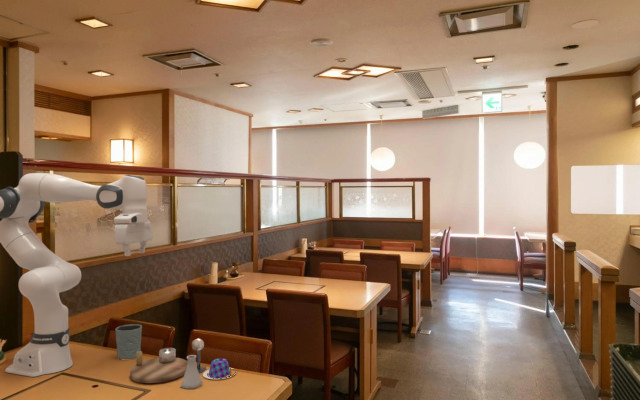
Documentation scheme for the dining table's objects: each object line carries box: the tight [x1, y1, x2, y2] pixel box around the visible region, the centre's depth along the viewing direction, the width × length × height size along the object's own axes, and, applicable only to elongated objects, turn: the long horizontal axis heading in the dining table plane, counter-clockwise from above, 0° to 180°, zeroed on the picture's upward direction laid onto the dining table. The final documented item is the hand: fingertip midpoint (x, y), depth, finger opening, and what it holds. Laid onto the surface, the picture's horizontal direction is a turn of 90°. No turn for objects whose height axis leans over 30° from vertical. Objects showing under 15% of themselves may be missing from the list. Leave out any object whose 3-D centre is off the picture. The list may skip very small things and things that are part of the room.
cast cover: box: [158, 347, 177, 364], centre depth 170 cm, size 6×6×4 cm
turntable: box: [129, 350, 188, 384], centre depth 164 cm, size 20×20×7 cm
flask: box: [180, 354, 203, 390], centre depth 154 cm, size 7×7×10 cm
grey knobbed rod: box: [191, 337, 207, 374], centre depth 167 cm, size 4×4×12 cm
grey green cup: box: [114, 323, 143, 360], centre depth 183 cm, size 10×10×12 cm
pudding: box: [202, 358, 237, 380], centre depth 164 cm, size 12×12×5 cm
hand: (135, 254), depth 168 cm, fingers open, 8 cm apart
